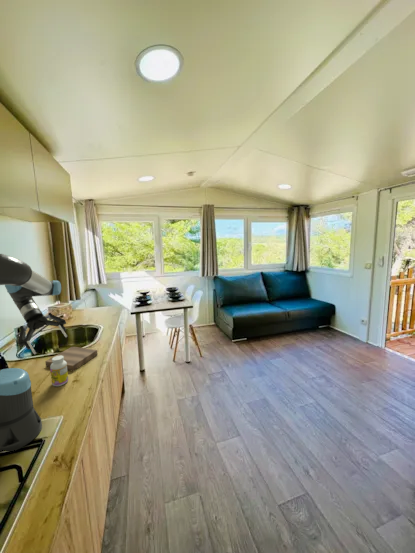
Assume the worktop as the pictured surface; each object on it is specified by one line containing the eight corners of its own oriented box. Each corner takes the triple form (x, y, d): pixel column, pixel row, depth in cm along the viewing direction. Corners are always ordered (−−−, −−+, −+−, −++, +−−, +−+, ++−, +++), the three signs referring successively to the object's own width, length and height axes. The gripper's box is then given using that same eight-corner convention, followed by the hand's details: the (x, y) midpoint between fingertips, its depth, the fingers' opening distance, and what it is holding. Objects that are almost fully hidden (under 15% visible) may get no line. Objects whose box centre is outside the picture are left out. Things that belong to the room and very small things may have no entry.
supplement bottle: (49, 384, 111) (46, 359, 109) (63, 377, 117) (60, 353, 115) (57, 388, 108) (54, 362, 106) (71, 381, 114) (69, 356, 112)
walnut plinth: (73, 370, 123) (73, 365, 122) (45, 366, 127) (45, 361, 127) (97, 354, 140) (97, 349, 139) (72, 351, 144) (72, 346, 144)
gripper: (60, 306, 129) (79, 333, 121) (6, 332, 114) (22, 364, 106) (56, 298, 124) (76, 325, 115) (-1, 323, 109) (16, 356, 101)
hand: (50, 343), depth 111 cm, fingers open, 13 cm apart
